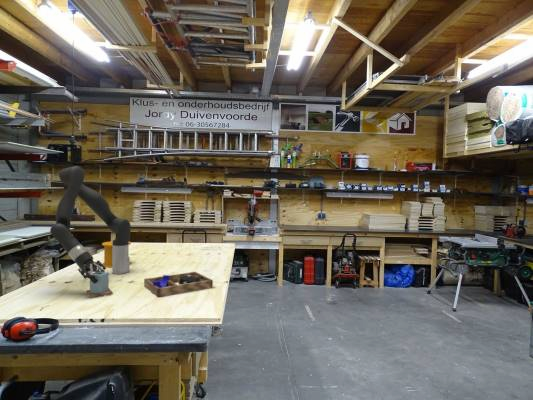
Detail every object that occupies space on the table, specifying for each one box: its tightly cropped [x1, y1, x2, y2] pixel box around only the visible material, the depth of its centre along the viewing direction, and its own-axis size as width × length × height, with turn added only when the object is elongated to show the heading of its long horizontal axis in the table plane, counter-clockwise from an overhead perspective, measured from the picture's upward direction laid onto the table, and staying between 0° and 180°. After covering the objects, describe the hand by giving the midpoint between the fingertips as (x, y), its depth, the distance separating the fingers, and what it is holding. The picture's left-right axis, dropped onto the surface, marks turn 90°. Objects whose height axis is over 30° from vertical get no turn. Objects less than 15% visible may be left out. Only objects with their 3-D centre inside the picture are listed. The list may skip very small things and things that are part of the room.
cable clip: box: [153, 274, 170, 288], centre depth 178 cm, size 12×4×6 cm, turn 170°
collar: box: [89, 271, 110, 294], centre depth 170 cm, size 6×6×9 cm
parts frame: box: [143, 271, 214, 298], centre depth 184 cm, size 30×21×4 cm
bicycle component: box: [178, 275, 204, 285], centre depth 188 cm, size 12×7×15 cm
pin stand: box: [85, 288, 114, 299], centre depth 170 cm, size 10×10×8 cm
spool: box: [101, 240, 132, 269], centre depth 232 cm, size 18×18×15 cm
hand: (101, 280), depth 169 cm, fingers open, 8 cm apart
